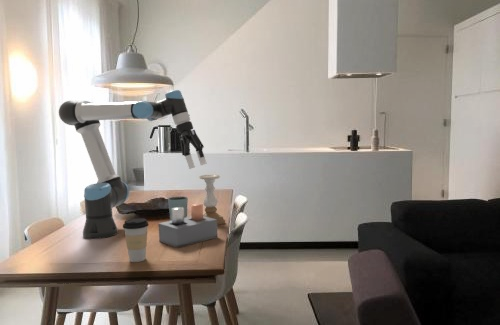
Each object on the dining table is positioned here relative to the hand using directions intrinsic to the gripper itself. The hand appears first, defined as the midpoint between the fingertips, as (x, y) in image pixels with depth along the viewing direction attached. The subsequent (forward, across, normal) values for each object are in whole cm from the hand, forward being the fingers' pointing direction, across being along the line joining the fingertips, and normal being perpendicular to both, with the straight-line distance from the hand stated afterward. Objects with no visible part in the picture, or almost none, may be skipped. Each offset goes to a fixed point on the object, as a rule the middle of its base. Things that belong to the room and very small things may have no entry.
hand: (197, 166), depth 199 cm
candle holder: (+29, +15, -4) cm, 33 cm away
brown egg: (+23, -6, +11) cm, 26 cm away
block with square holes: (+29, -6, +18) cm, 34 cm away
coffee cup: (+26, -19, +44) cm, 55 cm away
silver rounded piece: (+21, -8, +21) cm, 31 cm away
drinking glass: (+24, +30, +7) cm, 39 cm away
